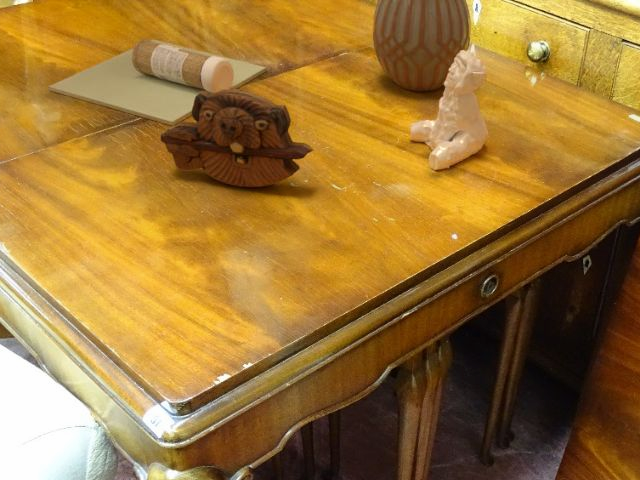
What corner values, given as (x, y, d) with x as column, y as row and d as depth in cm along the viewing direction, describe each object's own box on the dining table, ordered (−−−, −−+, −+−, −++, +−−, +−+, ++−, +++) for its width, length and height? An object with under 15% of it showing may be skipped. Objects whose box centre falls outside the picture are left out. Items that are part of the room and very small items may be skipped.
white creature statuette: (404, 136, 95) (407, 38, 87) (468, 127, 98) (477, 32, 90) (432, 172, 88) (439, 70, 81) (500, 162, 91) (512, 63, 83)
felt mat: (49, 90, 100) (48, 86, 100) (153, 43, 114) (152, 39, 114) (173, 126, 94) (172, 121, 94) (266, 71, 108) (266, 67, 108)
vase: (408, 110, 101) (413, -32, 90) (354, 75, 109) (353, -59, 98) (485, 89, 107) (498, -46, 96) (429, 57, 115) (435, -70, 104)
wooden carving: (160, 184, 84) (143, 96, 77) (176, 164, 87) (161, 78, 81) (308, 201, 82) (303, 113, 76) (319, 180, 86) (315, 94, 79)
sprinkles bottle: (158, 50, 106) (239, 71, 101) (145, 79, 105) (225, 101, 101) (138, 31, 101) (222, 52, 97) (124, 61, 101) (207, 84, 97)
